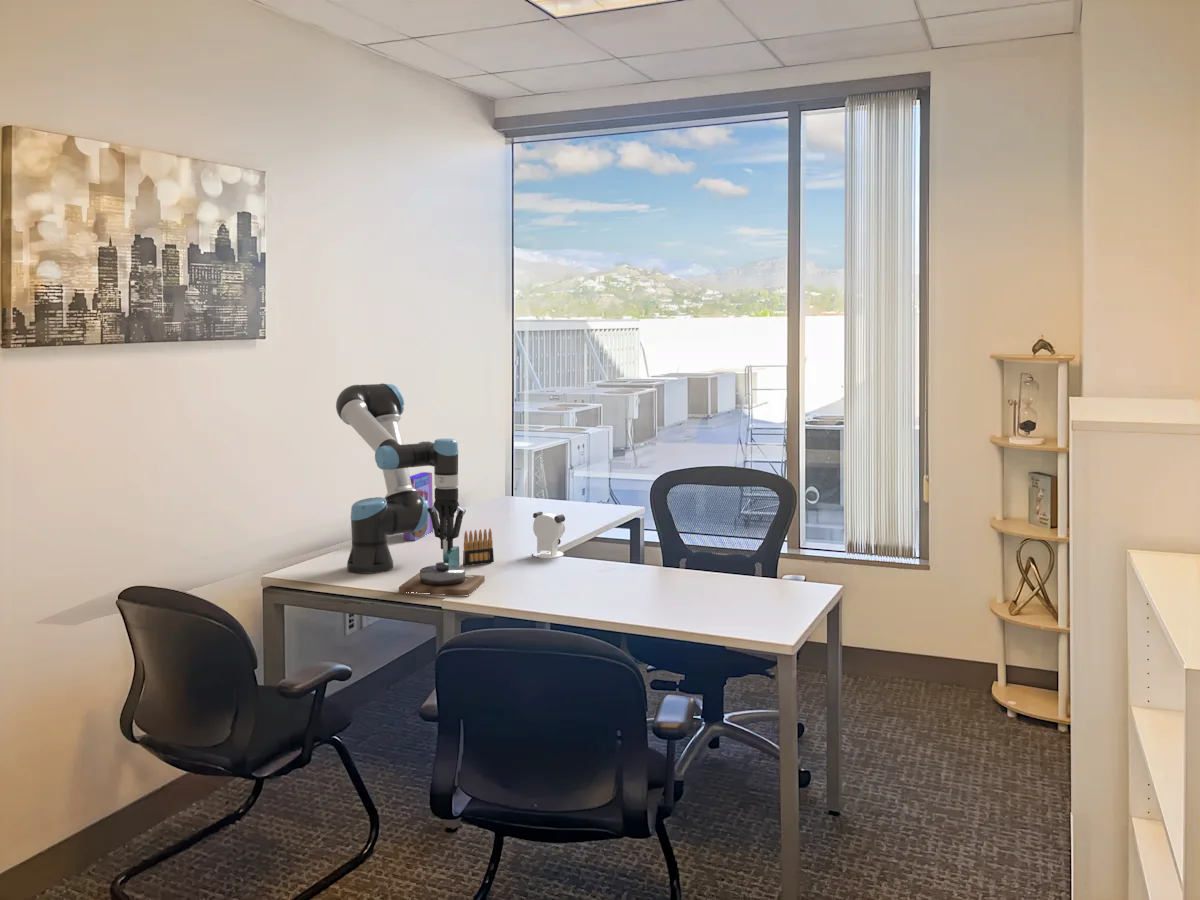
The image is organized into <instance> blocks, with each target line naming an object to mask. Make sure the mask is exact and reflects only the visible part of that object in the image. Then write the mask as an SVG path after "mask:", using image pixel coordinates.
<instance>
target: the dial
mask: <svg viewBox="0 0 1200 900" xmlns="http://www.w3.org/2000/svg"><path fill="white" fill-rule="evenodd" d="M442 560H443V561H442V562H441V561H439V562H436V563H435V565H428V566H425V567H422V568H420V569H419V573H420V581H421V582H422V583H425V584H431V585H449V584H455V583H459V582H462V581H464V580H465V575H466V568H465V567H463V566H461V565H460V546H458V545H457V546H456V545H453V549H451V550H448V551H447V552H446V553H444V554H443V553H442Z"/></svg>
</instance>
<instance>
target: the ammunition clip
mask: <svg viewBox="0 0 1200 900" xmlns="http://www.w3.org/2000/svg"><path fill="white" fill-rule="evenodd" d="M463 536H464V537H463V551H462V552H463V556H462V559H463V560H462V565H463V564H464V565H463V566H465V565H468V566H473V565H472V564H476V565H482V564H481V563H485V564H492V563H491V562H495V561H494V560H495V559H494V558H495V557H494V556H495V555H494V548H493V547H494V545H493V533H492V528H489V529H488V533H487V529H486V528H484V530H483V533H482V529H479V531H478V532H477V529H475V530H474V531H473V532H472V530H471V529H470V530H469V535H468V532H467V530H465V531H464V535H463Z"/></svg>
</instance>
